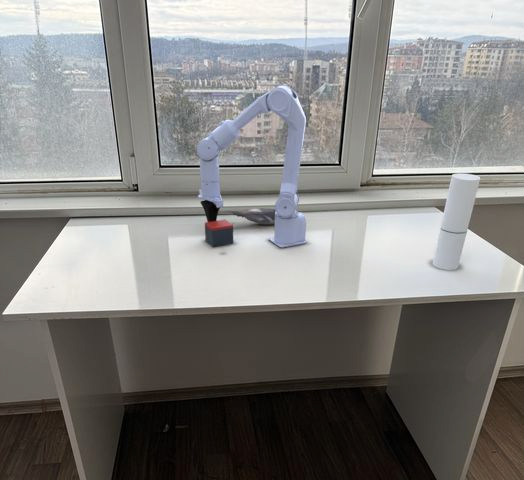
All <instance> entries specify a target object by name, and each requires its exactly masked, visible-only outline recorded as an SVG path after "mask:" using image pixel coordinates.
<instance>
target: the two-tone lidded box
mask: <svg viewBox="0 0 524 480" xmlns="http://www.w3.org/2000/svg"><path fill="white" fill-rule="evenodd" d="M204 236H205V237H204V238H205V239H204V240H205V242H206V243H208V245H209V246H211V248H217V247H222V246H228V245H233V244H234V224H233V223H231V222H229V221H228V220H226V219H219V220H216V221H212V222H208V221H206V222H204Z"/></svg>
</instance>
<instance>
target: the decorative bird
mask: <svg viewBox="0 0 524 480" xmlns="http://www.w3.org/2000/svg"><path fill="white" fill-rule="evenodd" d="M275 212H276V210H275V208H264V207H262V208H247V209H243V210H219V211H218V214H233V215H234V216H237V217H238V218H242V219H243V218H244V219H246V220H248V221H250V222H253V223H256V224H259V225H273V224H274V225H275Z"/></svg>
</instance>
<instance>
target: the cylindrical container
mask: <svg viewBox="0 0 524 480" xmlns="http://www.w3.org/2000/svg"><path fill="white" fill-rule="evenodd" d="M449 182H450V183H449V187H448V192H447V195H446V202H445V204H444V205H445V206H444V210H443V214H442V218H441V223H440V228H439V233H438V238H437V240H436V241H437V242H436V246H435V251H434V254H433V260H432V265H433V266H434V267H435V268H438V269H440V270H445V271H452V270H453V271H455V270H457V269H458V268H459V265H460V262H461V257H462V253H463V249H464V246H465V242H466V237H467V233H468V230H469V224H470V221H471V217H472V214H473V209H474V206H475V202H476V197H477V192H478V191H479V185H480V182H481V177H480V175H479V176H478V175H476V174H471V173H461V172H460V173H453V174H452V175H451V178H450V181H449Z"/></svg>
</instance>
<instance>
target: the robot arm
mask: <svg viewBox="0 0 524 480" xmlns="http://www.w3.org/2000/svg"><path fill="white" fill-rule="evenodd" d="M271 112H272V113H274V114H276V115H277V116H279V117H280V118H281V119H282V120H283V121H284V122H285V123H286V125H287V127H288V128H287V137H286V145H285V151H284V152H285V154H284V161H283V169H282V179H281V185H280V190H279V195H278V198H277V199H276V201H275V204H274V209H275V210H276V212H275V223H274V237H269V238H268V240H269V241H270V242H272V243H273V244H275V245H276V246H277V247H279V248H282V249H283V248H288V247H294V246H298V245H305V244H307V241H306V235H307V234H306V233H307V219H306V216H305V215H304V214H303V212H299V211H298V210H297V206H298V205H299V203H300V202H299V201H300V197H299V193H298V185H299V184H298V183H299V175H300V169H301V168H300V167H301V161H302V155H303V154H302V152H303V145H304V138H305V132H306V124H307V118H306V114H305V112H304V110H303V108H302V105H301V102H300V100H299V98H298V94H297V92H295V90H294V89H292V88H291V87H290V85H288V84H279V85H277V86H276V87H275V88H273V89H271V90H270V91H268V92H266V93H265V94H263V95H261V96H259V97H258V98H257V99H255V100H254V101H253V102H252V103H251V104H250V105H248V107H246V108H245V109H244V110H243V111H242V112H241V113H240V114H238V116H237V117H235V118H234V119H233V120H231V119H225V120H221V121H220V122H219V123H218V125H219V126H217V127H216V128H214V130H213V131H209V132H208V133H206V137H205V138H204V139H203V138H202V139H201V140H200V141H199V142H198V144H197V145H196V153H197V155H198V157H199V172H200V173H199V174H200V189H199V188H198V195H197V198H198V199H199V200H201V201H200V205H201V206H202V209H203V211H204V214H205V218H206V222H212V221H218V220H217V219H218V214H219V213H218V211H220V209H221V208H223V207H224V200H223V199H222V195H221V186H220V184H221V183H220V163H219V162H220V160H219V155H220V154H221V152H222V151H224V150H226V149H227V148H228V147H229V146H230V145H231V144H233V143H234V142H235V141H236V140H237V139H238V138H239V137H240V131H241V130H242V129H243V128H244V127H245V126H246V125H248V124H249V123H251V122H252V121H253V120H254V119H255V118H257V117H258V116H259V115H262V114H269V113H271Z"/></svg>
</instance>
